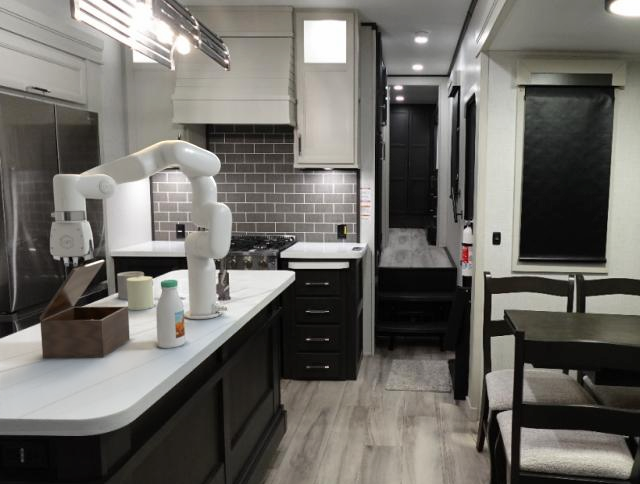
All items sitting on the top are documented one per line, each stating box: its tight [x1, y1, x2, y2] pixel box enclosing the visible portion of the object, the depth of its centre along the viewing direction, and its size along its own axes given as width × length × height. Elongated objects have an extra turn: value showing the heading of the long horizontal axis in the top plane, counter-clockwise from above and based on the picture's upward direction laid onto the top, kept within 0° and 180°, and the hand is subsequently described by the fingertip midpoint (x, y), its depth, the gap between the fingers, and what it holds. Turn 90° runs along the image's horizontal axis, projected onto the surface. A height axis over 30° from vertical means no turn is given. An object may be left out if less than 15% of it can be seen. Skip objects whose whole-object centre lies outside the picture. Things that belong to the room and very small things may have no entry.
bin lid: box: [38, 259, 106, 321], centre depth 145 cm, size 17×16×1 cm
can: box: [127, 275, 155, 311], centre depth 194 cm, size 9×9×12 cm
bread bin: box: [39, 306, 131, 359], centre depth 147 cm, size 17×16×11 cm
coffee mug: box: [116, 271, 145, 300], centre depth 211 cm, size 13×10×10 cm
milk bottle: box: [156, 279, 186, 349], centre depth 151 cm, size 8×8×20 cm
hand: (74, 278), depth 145 cm, fingers closed
